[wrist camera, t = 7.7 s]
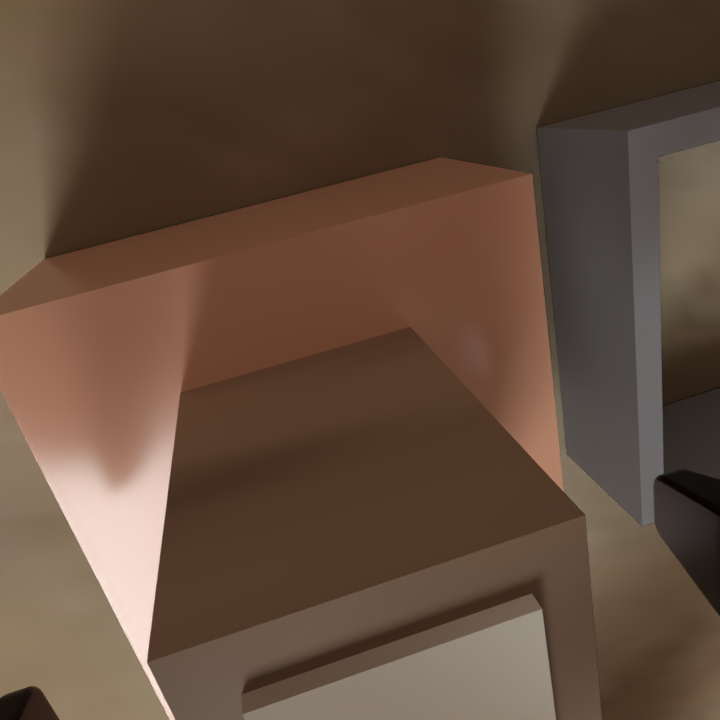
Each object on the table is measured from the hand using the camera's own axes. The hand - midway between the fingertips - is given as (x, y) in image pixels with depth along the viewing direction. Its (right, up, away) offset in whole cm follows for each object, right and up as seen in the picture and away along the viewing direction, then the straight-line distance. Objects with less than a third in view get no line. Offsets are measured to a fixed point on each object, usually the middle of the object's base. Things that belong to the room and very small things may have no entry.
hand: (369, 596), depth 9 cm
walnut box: (-1, +1, +3) cm, 3 cm away
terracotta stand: (-2, +3, +7) cm, 8 cm away
